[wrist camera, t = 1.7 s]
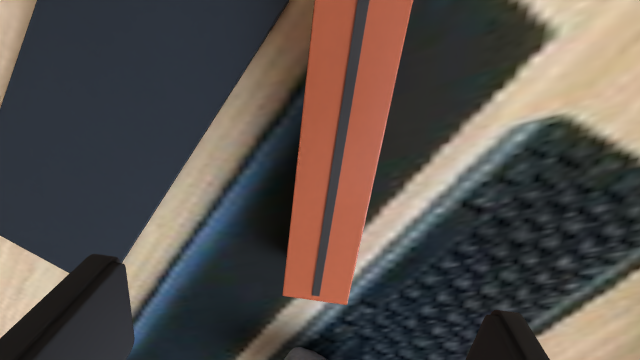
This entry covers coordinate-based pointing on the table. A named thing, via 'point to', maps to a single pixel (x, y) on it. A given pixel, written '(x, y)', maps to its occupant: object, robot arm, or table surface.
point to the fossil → (303, 354)
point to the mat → (113, 114)
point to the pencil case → (341, 140)
